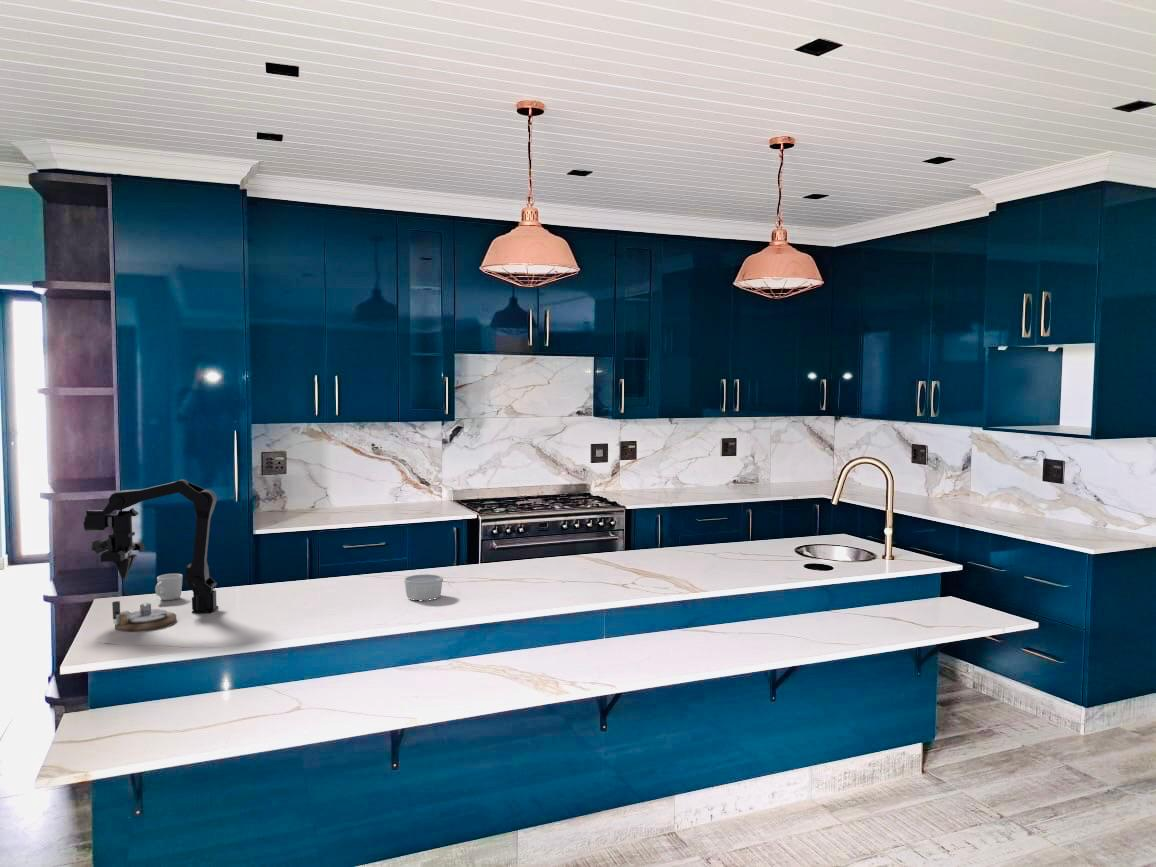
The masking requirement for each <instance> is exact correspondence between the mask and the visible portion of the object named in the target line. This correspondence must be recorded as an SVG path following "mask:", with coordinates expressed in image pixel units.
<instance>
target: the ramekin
mask: <svg viewBox="0 0 1156 867" xmlns="http://www.w3.org/2000/svg"><path fill="white" fill-rule="evenodd" d="M403 583H404V586H405V587H404V588H405V594H406V597H407V599H409V598H410V599H414V600H429V599H434V598H438V597H439V598H440V597H441V594H442V588H443V587H442V586H443V583H444V578H443V576H441V575H438V574H430V573H425V574H424V573H423V574H420V573H419V574H413V575H409V576H406V577H405V578H404V579H403ZM439 598H438V599H439ZM410 599H409V600H410Z"/></svg>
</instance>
